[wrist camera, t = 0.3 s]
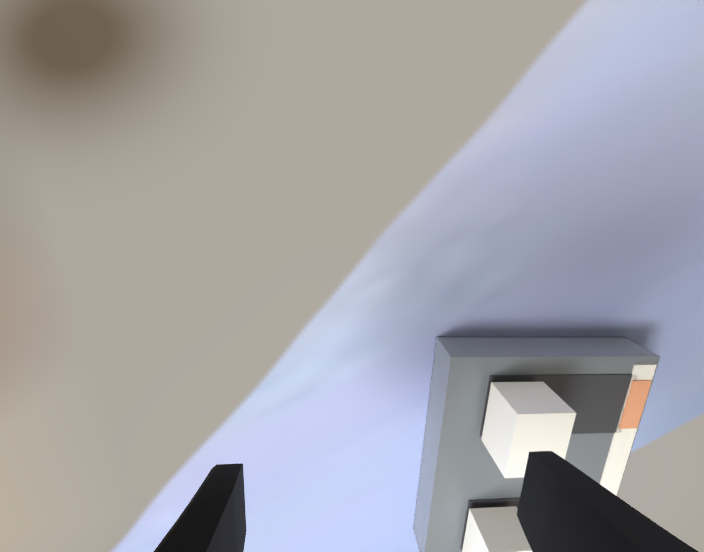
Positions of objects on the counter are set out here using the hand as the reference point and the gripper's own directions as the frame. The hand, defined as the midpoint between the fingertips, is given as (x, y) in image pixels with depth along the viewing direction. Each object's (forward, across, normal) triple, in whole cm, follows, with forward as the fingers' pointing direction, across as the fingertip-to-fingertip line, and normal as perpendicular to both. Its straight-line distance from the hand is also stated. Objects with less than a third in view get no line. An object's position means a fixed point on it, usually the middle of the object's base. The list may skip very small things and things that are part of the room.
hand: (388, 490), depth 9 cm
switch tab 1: (+6, -7, +3) cm, 10 cm away
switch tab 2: (+6, -7, +10) cm, 13 cm away
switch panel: (+9, -9, +6) cm, 14 cm away
